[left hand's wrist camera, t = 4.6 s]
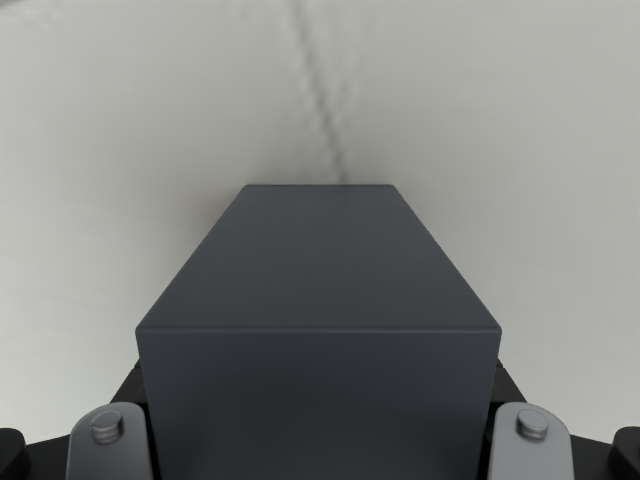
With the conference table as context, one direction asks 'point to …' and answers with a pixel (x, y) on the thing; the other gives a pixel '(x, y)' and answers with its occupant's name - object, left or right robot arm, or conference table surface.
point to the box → (318, 345)
